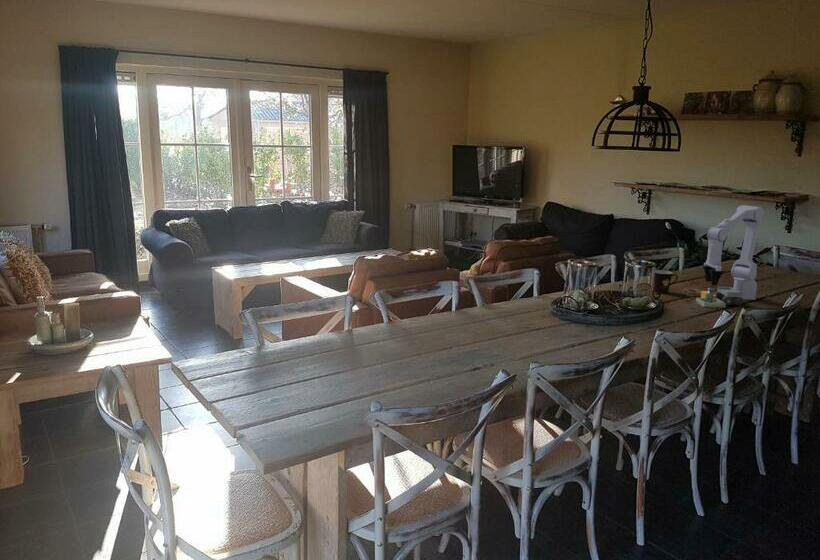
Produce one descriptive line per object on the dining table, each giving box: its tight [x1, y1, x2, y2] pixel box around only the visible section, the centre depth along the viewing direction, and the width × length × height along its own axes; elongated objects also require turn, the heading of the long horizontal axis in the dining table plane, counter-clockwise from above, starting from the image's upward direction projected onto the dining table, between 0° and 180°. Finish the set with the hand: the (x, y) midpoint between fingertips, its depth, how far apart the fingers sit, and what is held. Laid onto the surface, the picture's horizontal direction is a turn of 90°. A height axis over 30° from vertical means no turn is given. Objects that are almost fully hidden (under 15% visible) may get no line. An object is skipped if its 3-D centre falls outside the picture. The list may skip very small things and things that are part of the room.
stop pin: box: [706, 287, 716, 303], centre depth 300 cm, size 3×3×7 cm
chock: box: [700, 290, 716, 298], centre depth 308 cm, size 5×5×4 cm
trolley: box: [714, 286, 744, 307], centre depth 304 cm, size 9×12×6 cm
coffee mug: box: [653, 269, 679, 294], centre depth 323 cm, size 12×9×10 cm
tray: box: [695, 297, 727, 309], centre depth 300 cm, size 10×10×2 cm
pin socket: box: [682, 288, 702, 298], centre depth 319 cm, size 7×7×2 cm
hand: (711, 283), depth 299 cm, fingers open, 7 cm apart
